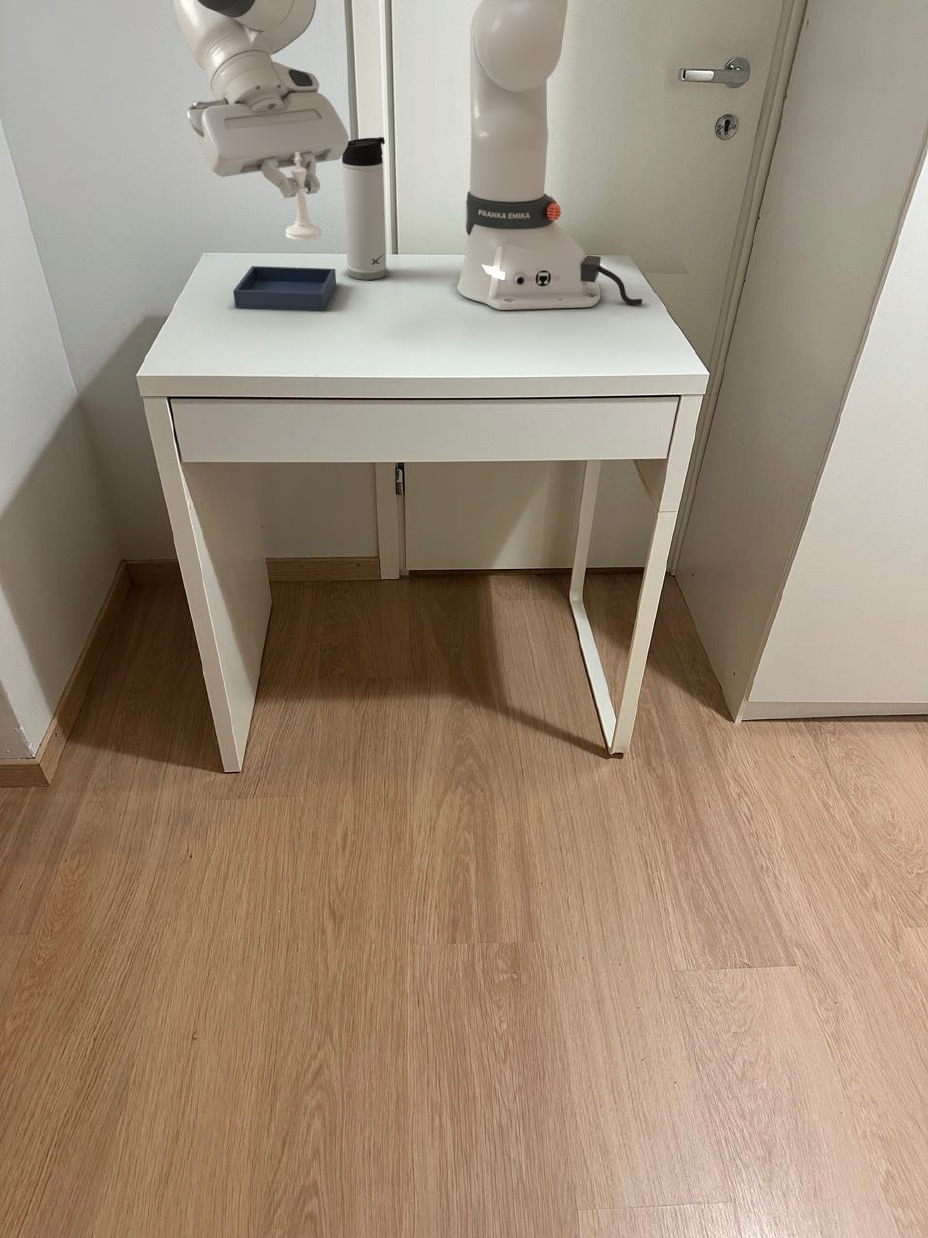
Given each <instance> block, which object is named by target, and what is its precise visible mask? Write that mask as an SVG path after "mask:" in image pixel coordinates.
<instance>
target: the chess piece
mask: <svg viewBox="0 0 928 1238" xmlns="http://www.w3.org/2000/svg"><path fill="white" fill-rule="evenodd" d="M295 157H296V158H295V159H294V163H296V166H294V167H292V168H291V169H290V172H291V175H292V177H293V179H294V181H295V184H296V185H297V187H298V193H296V219H295V220H294V224H292V225H290V226H287V227H286V229H285V237H286V238H288V239H289V240H295V241H312V240H317V239H319V238H321V237H323V232H322V231H323V230H322V228H321V227H320V226H319V225H315V224H313V222H312V220H310V217H309V213H308V207H307V201H306V196H305V194H306V192H308V191H309V190H308V188H307V187H305V186H304V182H305V177H306V173H307V170H306V169H305V168H302V167H301V165H300V161H302V158H301V157H300V153H299V152H296V153H295Z"/></svg>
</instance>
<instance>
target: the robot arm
mask: <svg viewBox="0 0 928 1238" xmlns="http://www.w3.org/2000/svg"><path fill="white" fill-rule="evenodd" d="M172 2H173V10H174V13H175V18H176V20H177V23H178V25H179V29H180V31H181V33H182V35H183V38H184V40H185V42H186V44H187V46H188V48H189V50H190V52H191V55H192V57H193V58H194V60H195V62H196V64H197V65H198V66H199V68H200V69H201V70H202V71H203V72H204V73H205V74H206V76H207V80H208V83H209V84H208V85H209V87H210V90H211V92H212V94H213V96H214V98H215V99H211V100H207V101H203V100H198V101H197V100H196V101H194V102H192V105H191V106H189V107H188V109H187V112H186V114H187V120H188V122H189V123H190V125H191V128H192V129H193V131H194V132H195V133H196V135H197V137H198V140H199V145H200V147H201V149H202V152H203V155H204V158H205V160H206V162H207V164H208V166H209V168H210V169H211V171H212V172H213V173H214V174H215V175H217V176H219V177H220V178H226V177H232V176H233V177H234V176H240V175H245V174H246V175H247V174H251V173H252V174H253V173H259V172H261V173H262V175H263V177H264V178H265V179H266V180H267V181H269V182H270V183H271V184H272V185H274V186H275V187H277V188H279V189H278V190H279V191H280V193H281V195H282V197H283V198H284V199H290V198H294V197H297V193H298V187H297V185H296V183H295V181H294V178H293V176H292V177H287V176H286V175H285V174H284V173H283V172H282V171H281V170H280V169H286V168H291V167H292V168H294V167H296V163H294V159H295V158H296V157H295V153H296V152H299V153H300V157H301V158H302V161H300V165H301V167H302V168H305V169H306V170H307V173H306V177H305V182H304V186H305V187H307V188H308V190H309V191H308V192H305V194H306V195H313V194H317V193H319V191H320V189H321V183H320V181H319V179H318V177H317V175H316V171H317V169H316V168H317V164H320V163H325V162H332V161H338V160H340V159H342V157H343V153H344V151H345V150H346V148H347V146H348V141H350V137H349V134H348V131H347V129H346V127H345V125H344V123H343V121H342V119H341V118H340V116H339V114H338V112H337V111H336V109H335V107H334V106H333V104H332V102H331V101H330V100H329V99H328V98H327V97H326V96H325V95H324V94H322V93H320V92H319V89H320V82H319V80H318V78H317V76H316V75H315V74H314V73H311V72H308V71H304V70H300V69H296V68H292V67H290V66H286V65H284V64H281V63H280V62H277V61H273V59H272V57H271V56H272V55H275V54H276V53H277V54H278V53H279V52H281V50H283V49H285V48H286V47H288V46H289V45H290V44H292V43H293V42H294V41H295V40H297V39H298V38H300V36H302V34H304V33H305V31H306V30H307V29H308V28H309V26H310V24H311V22H312V20H313V18H314V15H315V11H316V6H317V0H173V1H172ZM568 3H569V0H481V1H480V2H479V4H478V5H477V6H476V9H475V11H474V13H473V15H472V19H471V24H470V30H469V79H470V80H469V83H470V84H469V86H470V87H469V89H470V91H469V94H470V171H469V172H470V173H469V191H468V192H467V195H466V200H465V226H464V227H465V231H466V233H467V235H466V244H465V251H464V258H463V263H462V268H461V272H460V276H459V280H458V283H457V286H456V289H457V292H458V293H459V294H460V295H461V296H463V297H465V298H467V299H470V300H472V301H476V302H479V303H483V304H486V305H488V306H489V307H491V308H494V309H496V310H500V311H511V310H512V311H513V310H542V309H543V310H545V309H573V308H575V309H577V308H591V307H593V306H595V305H597V304H598V303H599V301H600V300H601V289H600V285H599V283H598V281H597V278H598V276H599V274H602V275H604V276H606V277H607V278H610V279H611V280H612V281H613V282H614V283H616V285H617V286H618V289H619V295H620V298H621V299H622V301H623V303H625V304H627V305H629V306H630V305H631V306H634V305H635V306H637V305H642V304H643V298H629V297H628V295H627V292H626V287H625V284H624V282H623V280H622V279H621V278H620V277H619V276H618V275H616V273H614V272H612V271H610V270H608V269H606V268H604V267H603V266H601V259H602V258H601V256H599V255H598V256H597V255H590V254H589V255H588V254H587V255H586V253H585V251H584V249H583V247H582V246H581V245H580V244H579V243H578V242H577V241H576V240H575V239H574V238H573V237H571V236H570V235H569V234H568V233H567V231H565V230H564V229H563V228H562V227H561V226H560V225H558V223H556V222H555V221H557V220H559V218H560V217H561V215H562V210H561V207H560V205H559V204H558V202H557V201H556V200H555V199H554V198H553V196H551V195H550V196H549V195H548V194H546V193H545V183H546V169H547V157H548V156H547V155H548V145H549V129H548V89H547V88H548V79H549V78H550V77H551V75H552V74H553V73H554V71H555V70H556V68H557V66H558V64H559V61H560V57H561V53H562V48H563V40H564V32H565V26H566V19H567V12H568Z"/></svg>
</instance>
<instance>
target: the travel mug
mask: <svg viewBox="0 0 928 1238" xmlns="http://www.w3.org/2000/svg"><path fill="white" fill-rule="evenodd" d="M385 144H386V141H385V137H384V136H379V137H364V138H363V137H362V138H357V139H352V140H348V146H347V148H346V150H345V151H344V153H343V155H342V156H341V165H342V168H341V171H342V172H341V173H342V186H343V187H342V188H343V189H342V190H343V205H344V224H345V241H346V242H345V243H346V255H347V256H346V259H347V274H348V276H349V277H351V278H353V279H356V280H360V281H361V280H362V281H373V280H380V279H382V278H384V277H385V276H386V275H387V253H386V251H387V250H386V249H387V247H386V218H385V184H384V182H385V181H384V161H383V158H384V157H383V148H382V145H385Z"/></svg>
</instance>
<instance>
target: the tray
mask: <svg viewBox="0 0 928 1238" xmlns="http://www.w3.org/2000/svg"><path fill="white" fill-rule="evenodd" d="M336 277H337V275H336V268H322V267H321V268H320V267H319V268H318V267H316V268H315V267H290V266H265V265H264V266H262V265H261V266H259V265H252V266H251V267H250V268H249V269H248V271H247V272H246V273H245V275H244V276H243V277H242V278H241V280H239V283H238V284H237V285H236V287H234V289H233V290H232V292H233V300H234V307H235V309H254V310H255V309H257V310H259V309H260V310H282V311H283V310H285V311H286V310H287V311H313V312H315V311H316V312H325V309H326V307H327V306H328V302H329V301H330V299H331V297H332V295H333V293H334V290H335V288H336V287H337V278H336Z"/></svg>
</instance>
